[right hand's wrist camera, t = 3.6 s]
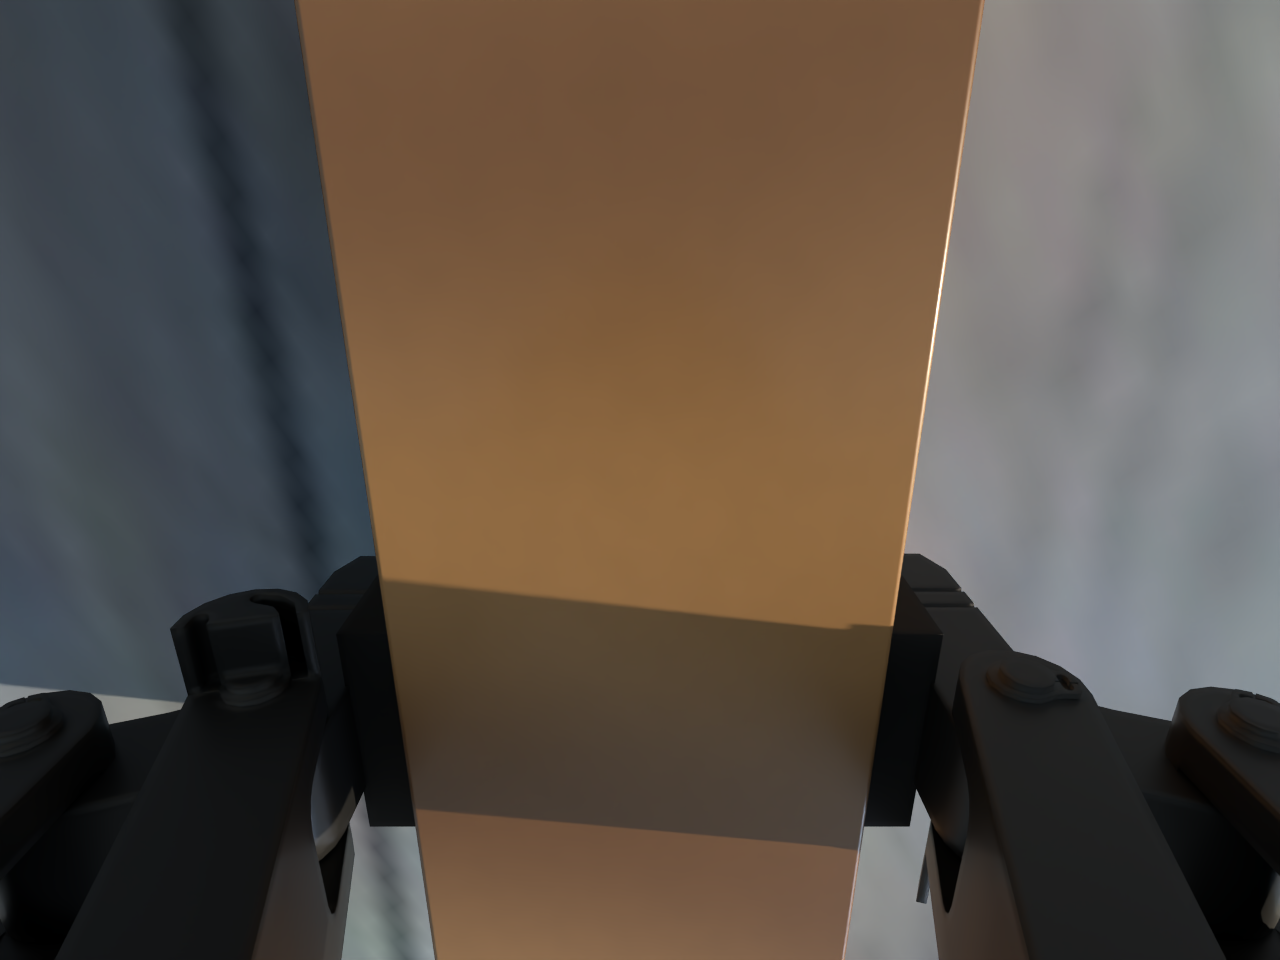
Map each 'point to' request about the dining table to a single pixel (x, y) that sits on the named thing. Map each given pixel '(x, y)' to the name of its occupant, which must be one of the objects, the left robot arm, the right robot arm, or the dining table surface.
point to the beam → (639, 439)
